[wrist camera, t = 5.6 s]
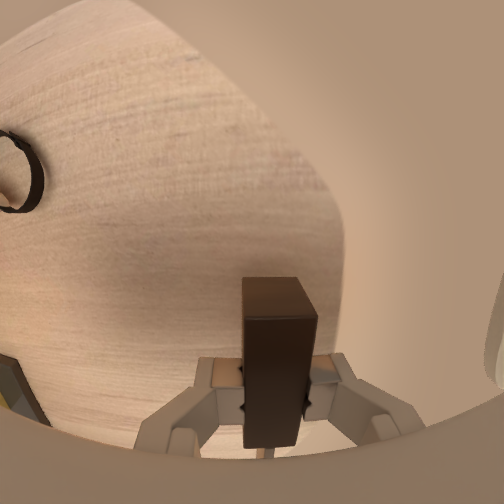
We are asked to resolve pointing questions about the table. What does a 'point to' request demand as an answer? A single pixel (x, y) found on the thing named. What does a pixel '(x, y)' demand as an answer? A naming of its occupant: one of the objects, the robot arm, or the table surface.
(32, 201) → the watch
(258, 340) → the dark brown boxy part
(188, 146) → the table surface
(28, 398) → the butter dish
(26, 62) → the table surface
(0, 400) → the butter pat
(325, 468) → the robot arm
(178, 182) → the table surface
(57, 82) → the table surface
